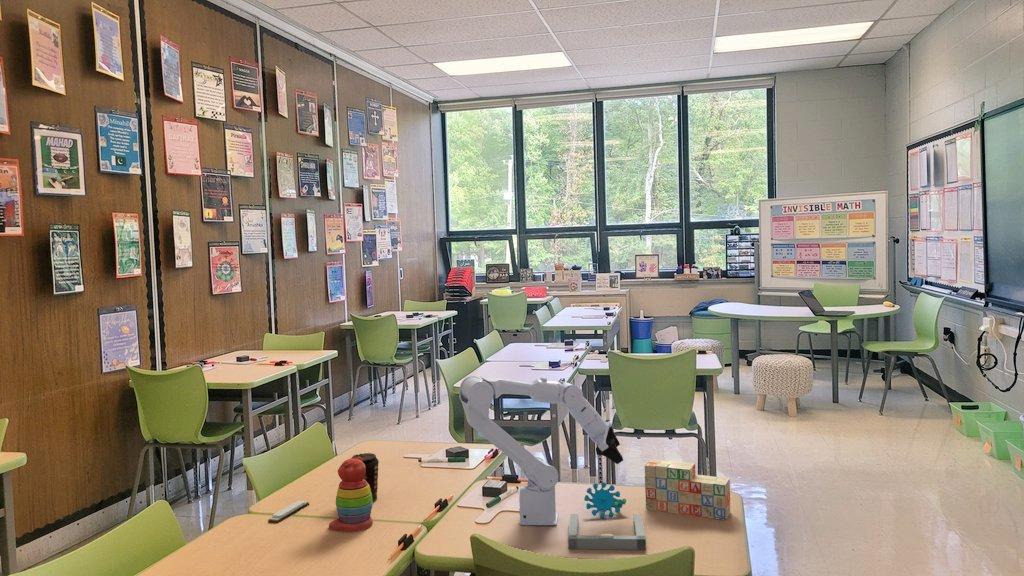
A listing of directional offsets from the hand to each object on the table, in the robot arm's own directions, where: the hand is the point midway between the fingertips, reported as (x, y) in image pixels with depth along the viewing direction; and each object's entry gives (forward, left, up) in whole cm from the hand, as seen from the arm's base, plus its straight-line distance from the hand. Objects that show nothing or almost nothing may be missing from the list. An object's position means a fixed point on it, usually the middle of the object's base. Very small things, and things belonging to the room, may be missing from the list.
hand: (618, 453), depth 199 cm
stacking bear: (-69, -15, -15) cm, 73 cm away
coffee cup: (-72, +4, -15) cm, 74 cm away
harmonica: (-91, -6, -15) cm, 92 cm away
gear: (-4, -5, -15) cm, 16 cm away
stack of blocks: (+18, -2, -15) cm, 23 cm away
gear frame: (-4, -19, -15) cm, 24 cm away
